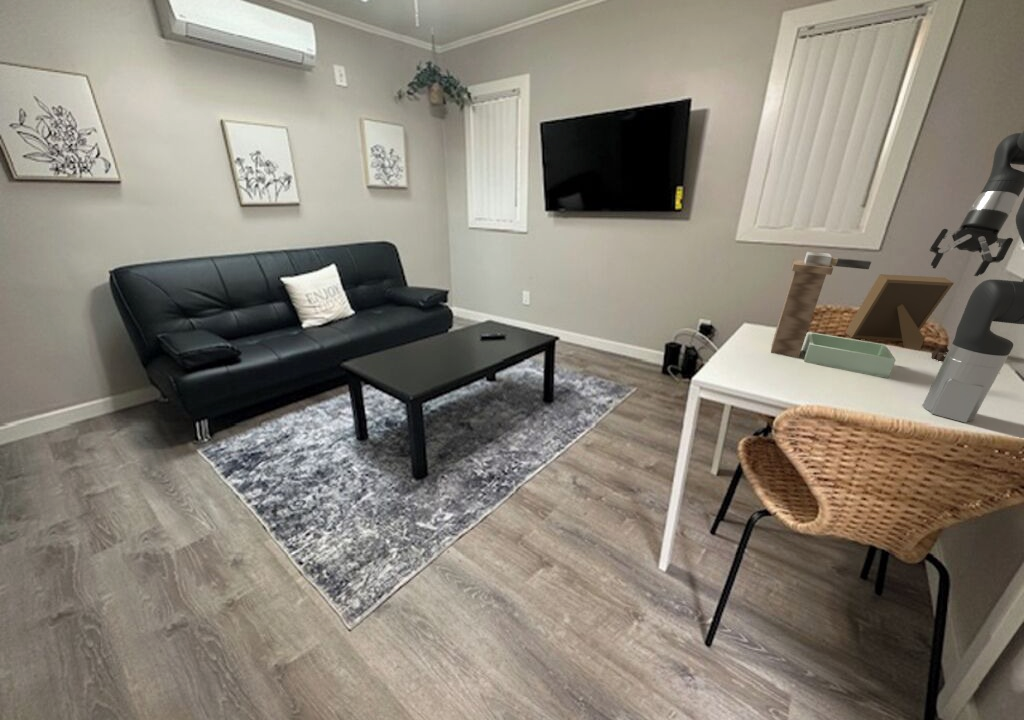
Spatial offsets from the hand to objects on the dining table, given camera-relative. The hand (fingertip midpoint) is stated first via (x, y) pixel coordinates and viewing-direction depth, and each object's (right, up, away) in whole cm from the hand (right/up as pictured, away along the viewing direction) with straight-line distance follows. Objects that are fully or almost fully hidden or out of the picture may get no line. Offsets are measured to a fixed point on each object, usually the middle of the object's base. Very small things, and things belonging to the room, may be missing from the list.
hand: (954, 271), depth 111 cm
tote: (-14, -25, +21) cm, 36 cm away
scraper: (-22, +5, +15) cm, 27 cm away
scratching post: (-27, -21, +29) cm, 45 cm away
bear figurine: (+29, -25, +26) cm, 46 cm away
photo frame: (+20, -18, +42) cm, 50 cm away
